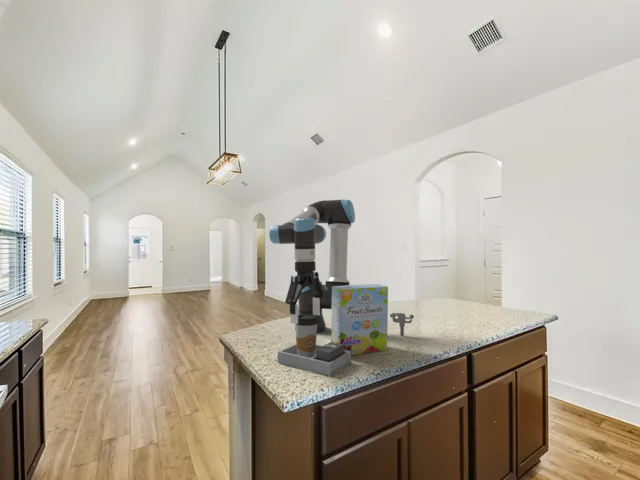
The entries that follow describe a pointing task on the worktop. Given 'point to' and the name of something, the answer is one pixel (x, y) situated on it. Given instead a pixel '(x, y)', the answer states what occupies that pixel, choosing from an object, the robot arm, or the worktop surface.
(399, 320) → the mechanical component
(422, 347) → the worktop surface
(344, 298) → the snack box
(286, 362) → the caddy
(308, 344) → the coffee cup
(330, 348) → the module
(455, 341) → the worktop surface
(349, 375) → the worktop surface
